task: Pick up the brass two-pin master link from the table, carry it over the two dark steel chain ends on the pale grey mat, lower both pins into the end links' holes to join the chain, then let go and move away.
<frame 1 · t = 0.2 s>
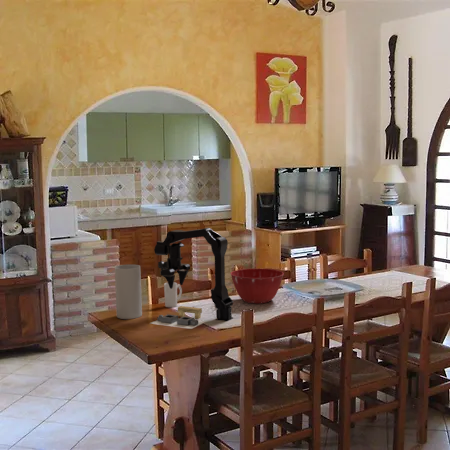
hand: (176, 286, 315), 14 cm above the table, tool pointing down, fingers open, 9 cm apart
master link: (189, 317, 309), on the table
mug: (173, 305, 335), on the table
chain ends: (177, 322, 299), resting on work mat
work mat: (177, 323, 299), on the table
mixing bowl: (257, 301, 341), on the table
cylinder vase: (129, 316, 314), on the table
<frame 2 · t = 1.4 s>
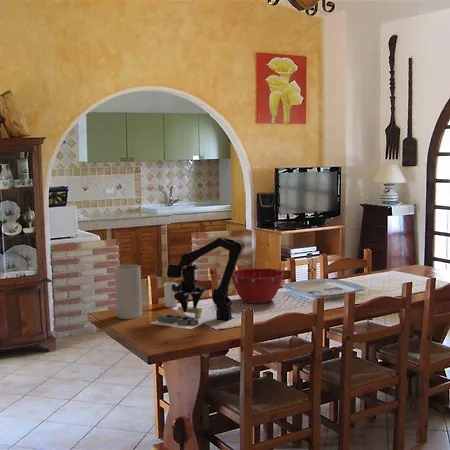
hand: (189, 309, 308), 4 cm above the table, tool pointing down, fingers open, 9 cm apart
nothing on the table moved.
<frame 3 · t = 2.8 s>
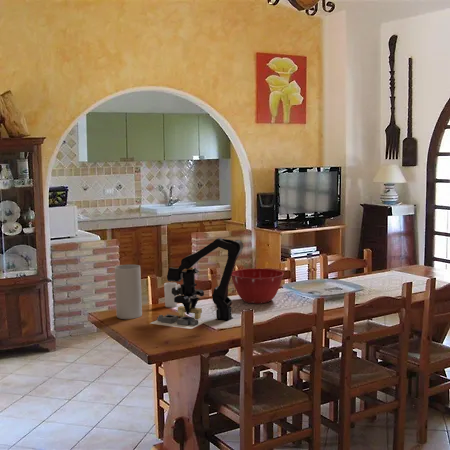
hand: (189, 313, 309), 2 cm above the table, tool pointing down, fingers closed on master link, 3 cm apart
master link: (189, 317, 309), on the table, touching gripper
everything else where it was.
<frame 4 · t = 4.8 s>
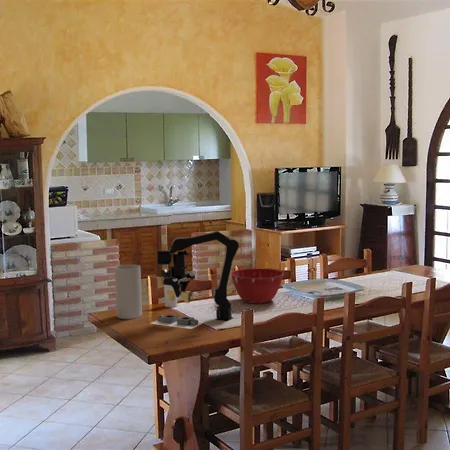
hand: (179, 296, 301), 12 cm above the table, tool pointing down, fingers closed on master link, 3 cm apart
master link: (179, 301, 301), point 10 cm above the table, touching gripper
everything else where it was.
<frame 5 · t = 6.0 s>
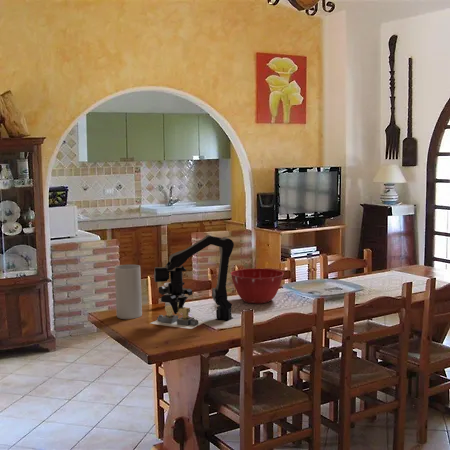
hand: (177, 313, 299), 5 cm above the table, tool pointing down, fingers closed on master link, 3 cm apart
master link: (177, 317, 299), point 3 cm above the table, touching gripper
everything else where it was.
when the fingers open (4 cm above the table, at t = 6.8 s): master link stays where it is, resting on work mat.
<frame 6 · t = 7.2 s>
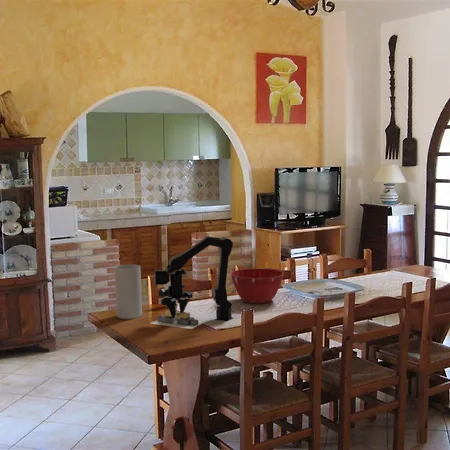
hand: (177, 316, 299), 4 cm above the table, tool pointing down, fingers open, 7 cm apart
master link: (177, 322, 299), resting on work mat
everything else where it was.
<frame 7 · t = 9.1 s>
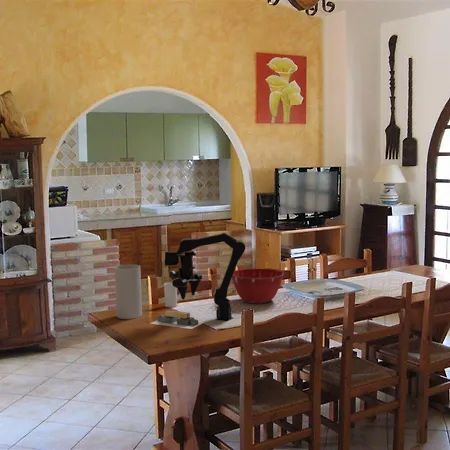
hand: (188, 297, 303), 11 cm above the table, tool pointing down, fingers open, 9 cm apart
nothing on the table moved.
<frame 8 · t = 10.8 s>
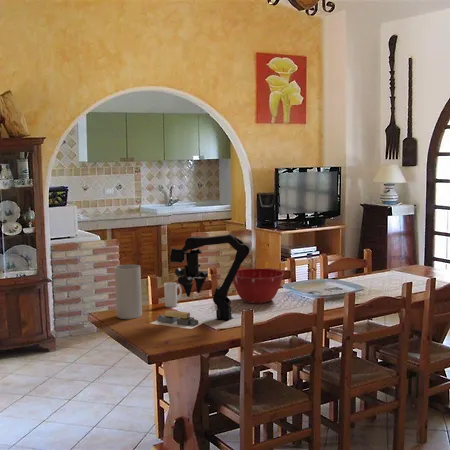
hand: (193, 294, 305), 12 cm above the table, tool pointing down, fingers open, 9 cm apart
nothing on the table moved.
at the end: master link 0.1 cm off-centre on the chain ends, point 0.0 cm above the chain ends's base; master link tilted 0°; the gripper is holding nothing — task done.
